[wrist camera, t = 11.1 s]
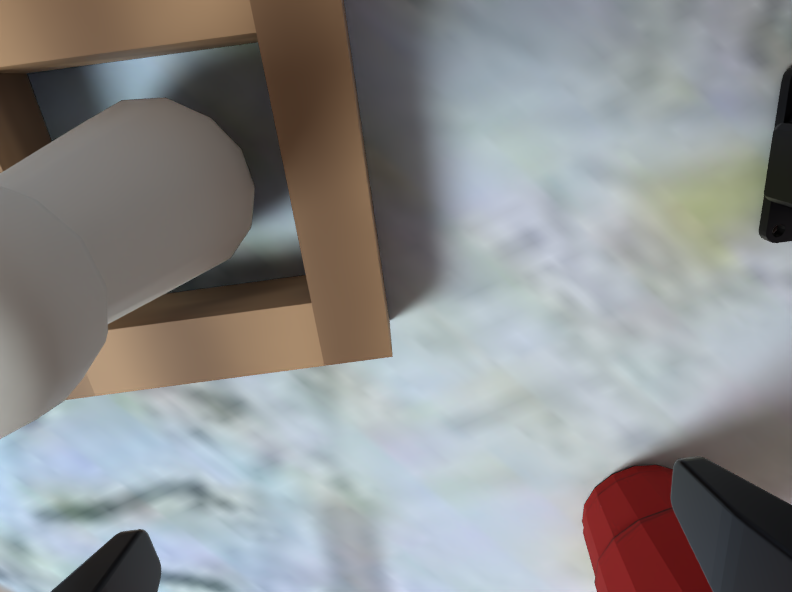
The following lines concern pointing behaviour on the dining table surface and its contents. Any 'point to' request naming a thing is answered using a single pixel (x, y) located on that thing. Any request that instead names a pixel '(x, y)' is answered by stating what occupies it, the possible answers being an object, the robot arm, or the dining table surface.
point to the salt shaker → (107, 238)
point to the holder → (304, 169)
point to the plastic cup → (639, 535)
